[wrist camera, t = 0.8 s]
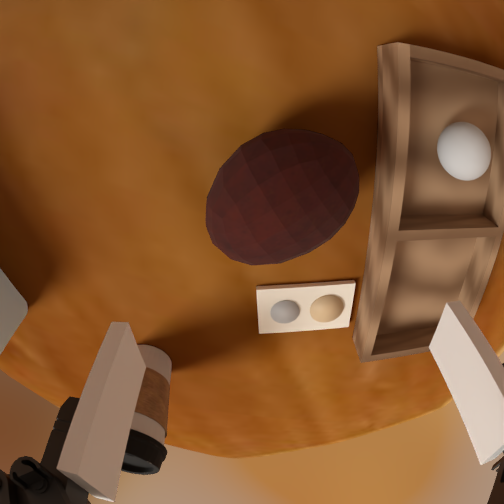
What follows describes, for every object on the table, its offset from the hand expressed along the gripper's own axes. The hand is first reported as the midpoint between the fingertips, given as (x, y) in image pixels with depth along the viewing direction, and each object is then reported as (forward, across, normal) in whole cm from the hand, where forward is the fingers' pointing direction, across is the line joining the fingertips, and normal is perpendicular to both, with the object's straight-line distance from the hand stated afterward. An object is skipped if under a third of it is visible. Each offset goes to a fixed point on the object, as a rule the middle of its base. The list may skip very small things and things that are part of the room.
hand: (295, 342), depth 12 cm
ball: (+16, +16, +5) cm, 23 cm away
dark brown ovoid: (+17, 0, +1) cm, 18 cm away
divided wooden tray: (+17, +16, -3) cm, 24 cm away
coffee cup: (+17, -16, -21) cm, 31 cm away
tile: (+17, +3, -13) cm, 22 cm away
